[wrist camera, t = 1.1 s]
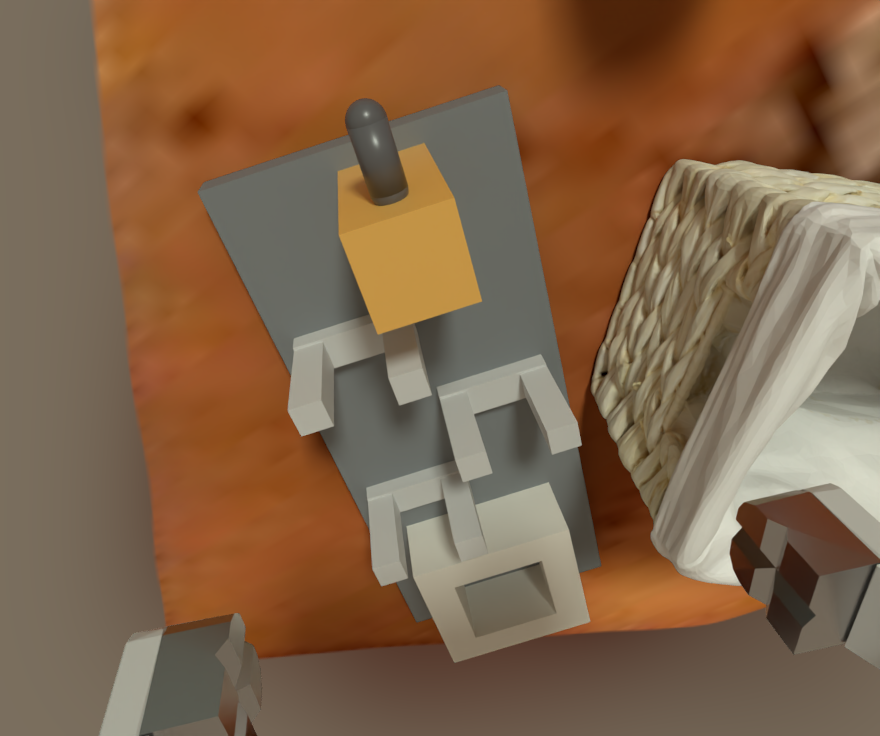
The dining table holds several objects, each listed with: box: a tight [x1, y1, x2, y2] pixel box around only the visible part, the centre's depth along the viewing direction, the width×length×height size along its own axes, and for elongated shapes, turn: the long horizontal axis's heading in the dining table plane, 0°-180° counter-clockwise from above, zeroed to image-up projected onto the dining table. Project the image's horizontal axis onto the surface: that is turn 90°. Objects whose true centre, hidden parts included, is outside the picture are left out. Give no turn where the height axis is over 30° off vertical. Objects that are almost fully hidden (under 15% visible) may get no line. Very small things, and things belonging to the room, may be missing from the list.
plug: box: [337, 98, 482, 335], centre depth 24 cm, size 4×7×8 cm, turn 16°
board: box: [198, 85, 601, 663], centre depth 34 cm, size 14×33×8 cm, turn 16°
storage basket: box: [591, 159, 880, 586], centre depth 30 cm, size 24×16×15 cm
